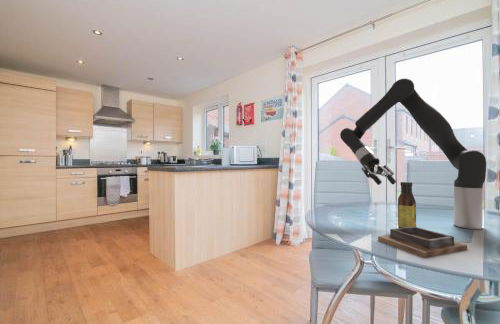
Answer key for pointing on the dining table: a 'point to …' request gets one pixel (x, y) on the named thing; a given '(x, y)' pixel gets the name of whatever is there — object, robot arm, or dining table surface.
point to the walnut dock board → (422, 241)
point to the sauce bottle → (406, 206)
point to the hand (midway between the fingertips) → (387, 183)
